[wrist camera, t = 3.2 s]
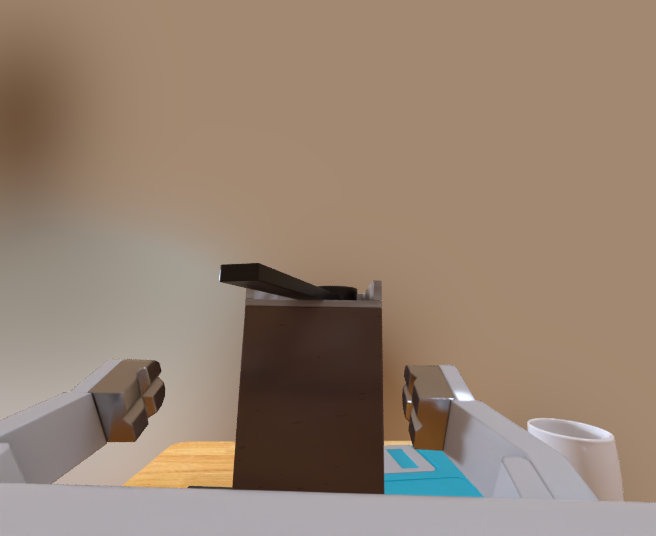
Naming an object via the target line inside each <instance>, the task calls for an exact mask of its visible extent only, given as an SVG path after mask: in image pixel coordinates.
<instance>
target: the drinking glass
mask: <svg viewBox="0 0 656 536" xmlns="http://www.w3.org/2000/svg"><path fill="white" fill-rule="evenodd" d="M527 432H529V433H530V434H532V435H533V436H535V437H536V438H538V439H539V440H541V441H542V442H544V443H545V444H547V445H549V446H550V447H552V448H553V449H555V450H556V451H558V452H559V453H561V454H562V455H564V456H565V457H566V458H567V459H568V460H569V462H570V463H571V464H572V466H573V467H574V468H575V469H576V471H577V472H578V473H579V475H580V476H581V477H582V479H583V480H584V481H585V482H586V484H587V485H588V486H589V488H590V489H591V490H592V491H593V493H594V494H595V495H596V497H597V498H598V499H599V501H624V493H623V483H622V475H621V468H620V462H619V457H618V452H617V447H616V442H615V437H614V436H613V435H612V434H611V433H609V432H608V431H606V430H603V429H601V428H598V427H595V426H591V425H588V424H584V423H579V422H574V421H568V420H562V419H551V418H536V419H531V420H529V421H528V422H527Z"/></svg>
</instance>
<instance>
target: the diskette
mask: <svg viewBox="0 0 656 536" xmlns="http://www.w3.org/2000/svg"><path fill="white" fill-rule="evenodd" d="M384 493H385V494H390V495H426V496H460V497H484V496H483V495H482V494H481V493H480V492H479V491H478V490H477V489H476V487H475V486H474V485H473V484H472V483H471V482H470V481H469V480H468V479H467V478H466V477H465V476H464V474H463V473H462V472H461V471H460V470H459V469H458V468H457V467H456V466H455V465H454V464H453V463H452V461H451V460H450V459H449V458H448V457H447V456H446V455H445V454H444V453H443V451H436V450H418V449H414V448H413V446H410V445H389V446H384Z"/></svg>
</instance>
